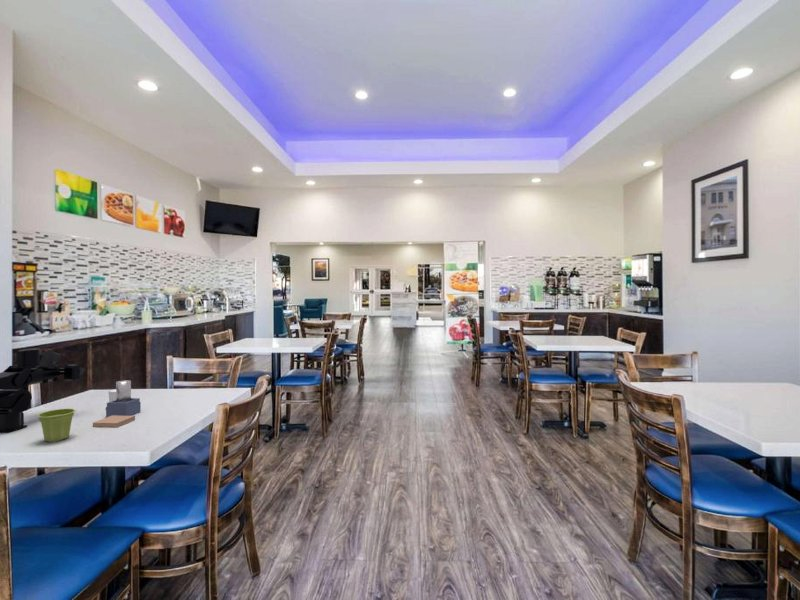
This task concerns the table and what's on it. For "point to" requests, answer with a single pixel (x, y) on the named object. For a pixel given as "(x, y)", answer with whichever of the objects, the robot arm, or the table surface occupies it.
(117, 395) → the silver metal cylinder
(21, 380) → the robot arm
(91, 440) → the table surface
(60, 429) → the plant pot
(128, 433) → the table surface
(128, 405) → the dark blue ridged block
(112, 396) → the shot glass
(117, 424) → the tan flat square slab
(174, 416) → the table surface
